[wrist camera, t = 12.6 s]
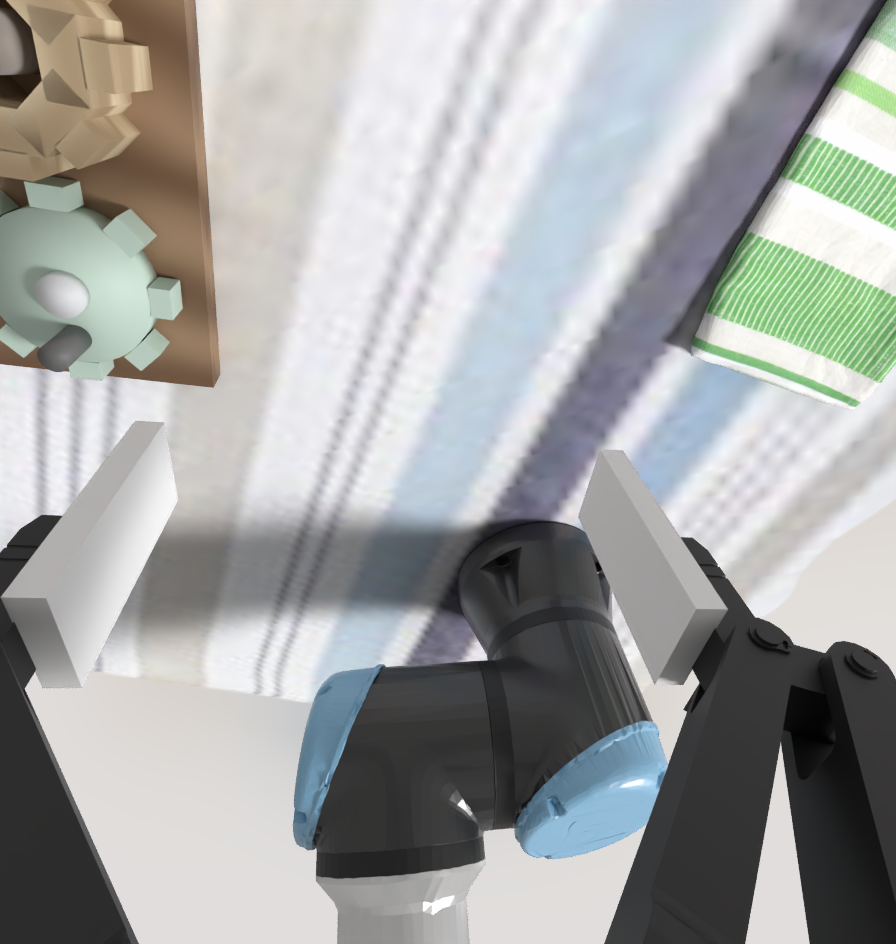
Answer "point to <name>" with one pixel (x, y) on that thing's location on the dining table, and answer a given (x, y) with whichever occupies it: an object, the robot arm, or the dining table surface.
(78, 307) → the gear
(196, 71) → the gear board
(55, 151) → the beech gear
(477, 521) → the dining table surface
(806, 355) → the dish towel
